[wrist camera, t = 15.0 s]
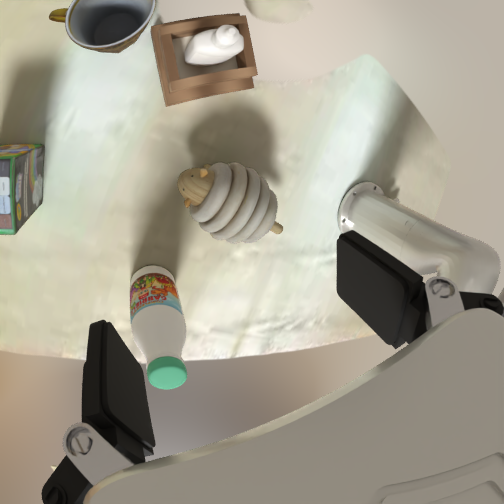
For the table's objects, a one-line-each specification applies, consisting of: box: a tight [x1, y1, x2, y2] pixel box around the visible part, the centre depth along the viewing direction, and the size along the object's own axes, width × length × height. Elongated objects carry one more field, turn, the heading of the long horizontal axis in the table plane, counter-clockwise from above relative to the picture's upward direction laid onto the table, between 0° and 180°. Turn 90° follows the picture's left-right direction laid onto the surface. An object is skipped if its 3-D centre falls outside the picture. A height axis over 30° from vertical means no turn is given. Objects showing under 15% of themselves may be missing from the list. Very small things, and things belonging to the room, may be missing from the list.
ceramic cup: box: [49, 0, 156, 53], centre depth 21 cm, size 13×10×10 cm
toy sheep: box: [177, 162, 283, 243], centre depth 38 cm, size 11×17×11 cm, turn 60°
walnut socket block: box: [151, 13, 258, 107], centre depth 29 cm, size 12×12×6 cm
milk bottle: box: [130, 265, 187, 389], centre depth 36 cm, size 8×8×20 cm
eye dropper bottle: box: [184, 25, 244, 67], centre depth 24 cm, size 4×6×12 cm
